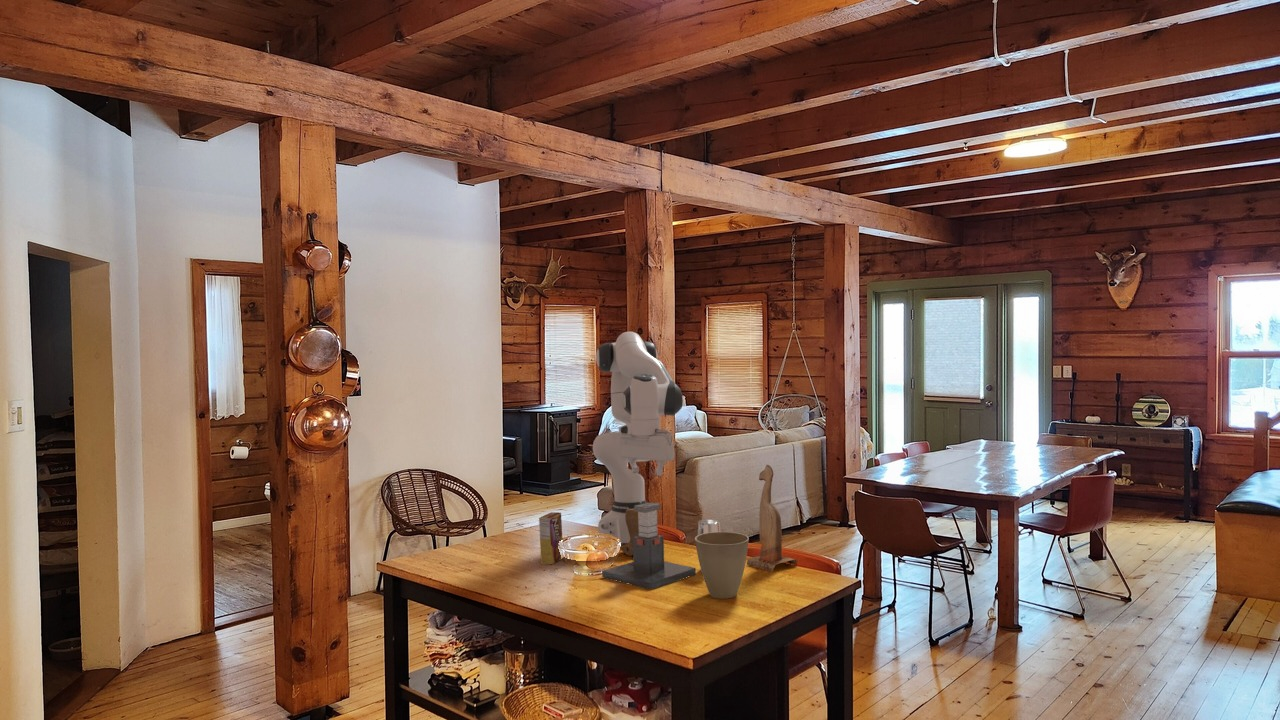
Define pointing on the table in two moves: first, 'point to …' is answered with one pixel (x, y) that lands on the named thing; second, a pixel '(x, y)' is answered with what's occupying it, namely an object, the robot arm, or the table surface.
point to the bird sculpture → (769, 529)
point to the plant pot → (722, 561)
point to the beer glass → (708, 526)
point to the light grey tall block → (647, 519)
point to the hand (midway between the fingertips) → (646, 474)
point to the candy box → (550, 537)
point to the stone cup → (631, 530)
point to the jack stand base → (648, 566)
